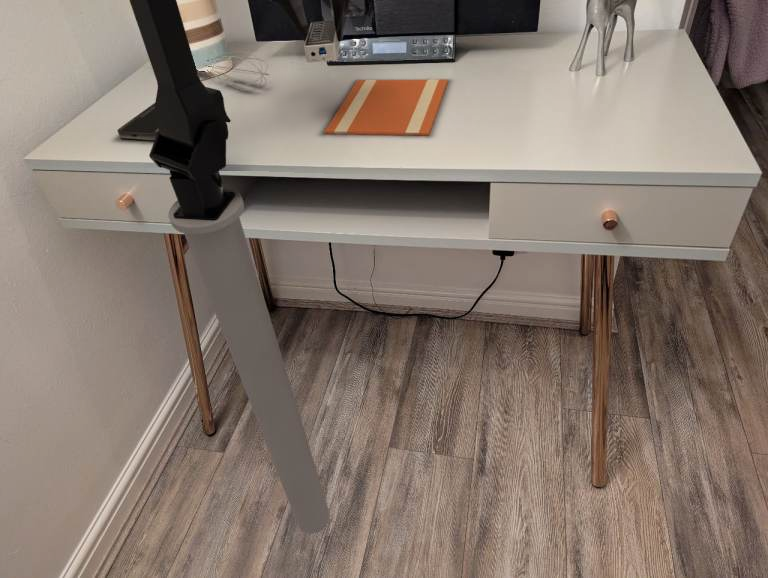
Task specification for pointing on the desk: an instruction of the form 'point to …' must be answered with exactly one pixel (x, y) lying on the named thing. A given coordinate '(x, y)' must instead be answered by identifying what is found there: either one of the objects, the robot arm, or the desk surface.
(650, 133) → the desk surface
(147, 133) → the phone
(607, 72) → the desk surface
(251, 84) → the kitchen whisk
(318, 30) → the multiport hub
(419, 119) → the towel
